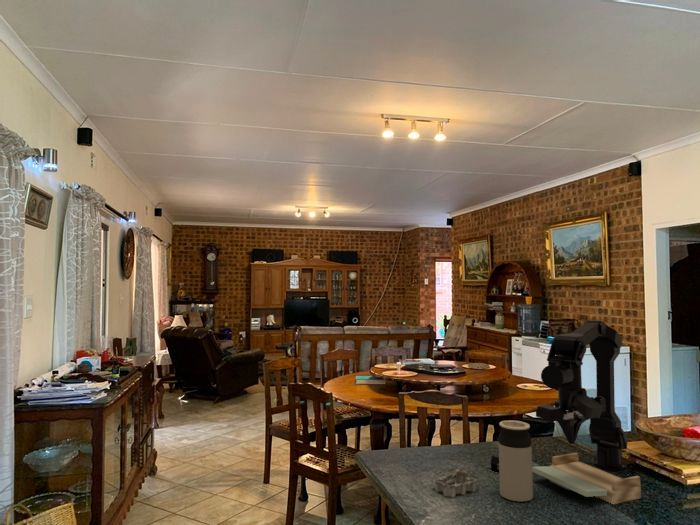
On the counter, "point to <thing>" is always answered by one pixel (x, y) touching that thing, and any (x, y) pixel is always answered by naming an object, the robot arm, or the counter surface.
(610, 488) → the cart bed
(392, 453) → the counter surface
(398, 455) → the counter surface
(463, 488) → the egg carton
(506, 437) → the travel mug
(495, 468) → the build plate
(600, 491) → the panel
